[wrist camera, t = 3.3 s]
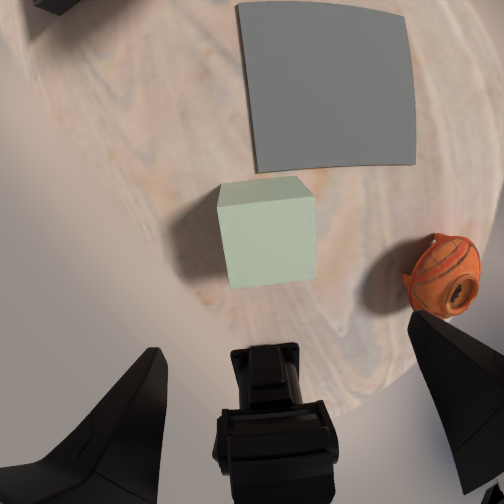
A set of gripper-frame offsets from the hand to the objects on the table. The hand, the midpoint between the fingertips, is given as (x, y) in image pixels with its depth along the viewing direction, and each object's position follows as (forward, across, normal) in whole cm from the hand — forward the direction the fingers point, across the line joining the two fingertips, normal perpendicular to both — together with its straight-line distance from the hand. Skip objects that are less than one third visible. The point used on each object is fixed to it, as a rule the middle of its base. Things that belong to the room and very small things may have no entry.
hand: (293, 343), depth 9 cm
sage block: (+12, 0, 0) cm, 12 cm away
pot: (+12, -15, +6) cm, 20 cm away
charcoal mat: (+12, -6, -9) cm, 16 cm away
